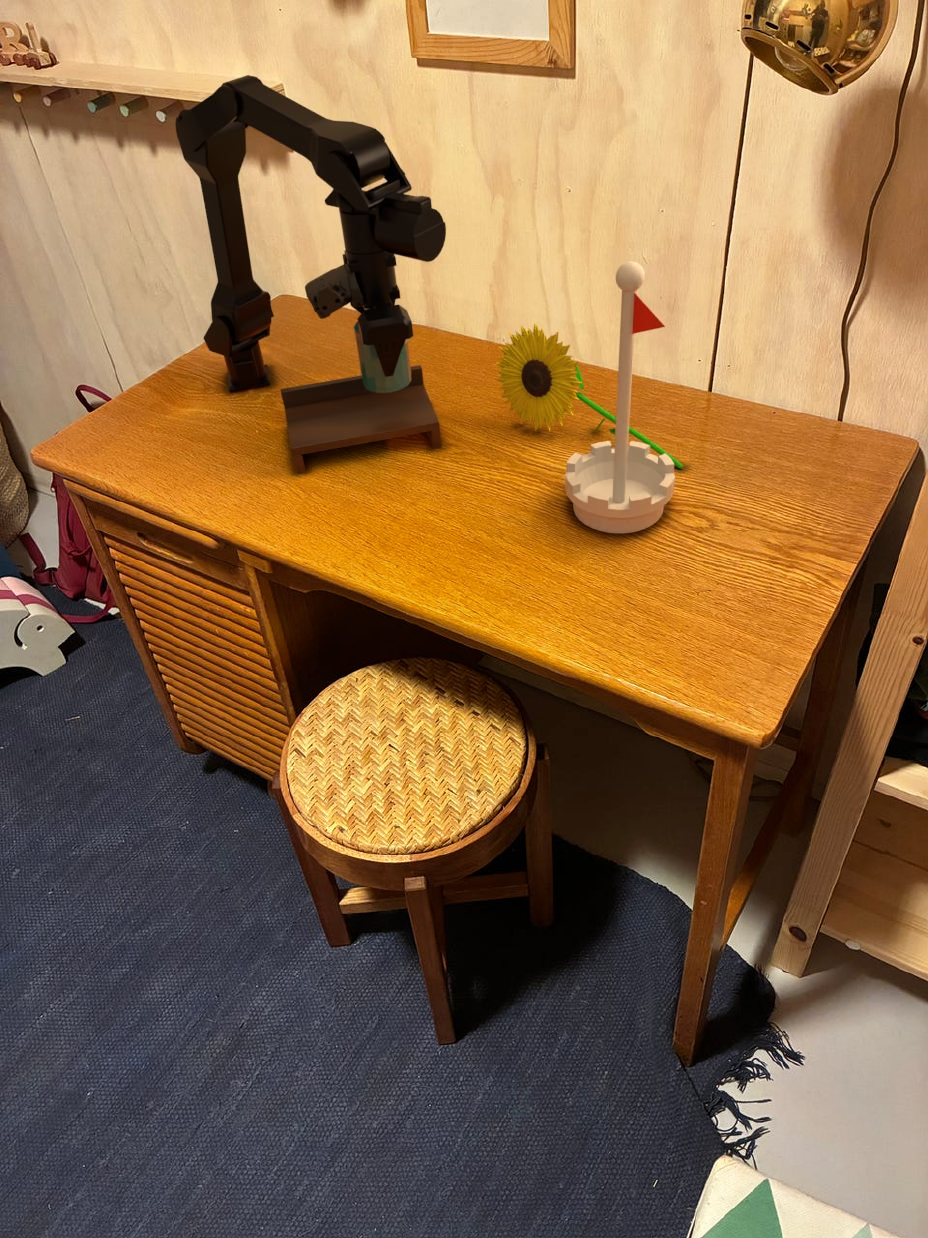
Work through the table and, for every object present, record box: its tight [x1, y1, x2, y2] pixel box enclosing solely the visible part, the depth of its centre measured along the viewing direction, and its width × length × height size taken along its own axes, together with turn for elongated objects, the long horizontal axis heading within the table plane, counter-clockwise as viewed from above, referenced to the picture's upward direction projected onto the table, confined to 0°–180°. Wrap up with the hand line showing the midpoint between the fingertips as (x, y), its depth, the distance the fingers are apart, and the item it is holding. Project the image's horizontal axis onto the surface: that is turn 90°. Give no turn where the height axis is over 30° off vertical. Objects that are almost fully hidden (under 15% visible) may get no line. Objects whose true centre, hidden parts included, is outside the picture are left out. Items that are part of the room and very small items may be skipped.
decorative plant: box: [494, 321, 684, 470], centre depth 121 cm, size 15×6×30 cm
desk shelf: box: [280, 364, 442, 474], centre depth 126 cm, size 12×20×6 cm, turn 103°
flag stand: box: [564, 261, 676, 534], centre depth 102 cm, size 13×13×30 cm
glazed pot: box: [353, 321, 412, 393], centre depth 121 cm, size 7×7×8 cm
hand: (384, 363), depth 122 cm, fingers closed on glazed pot, 6 cm apart
